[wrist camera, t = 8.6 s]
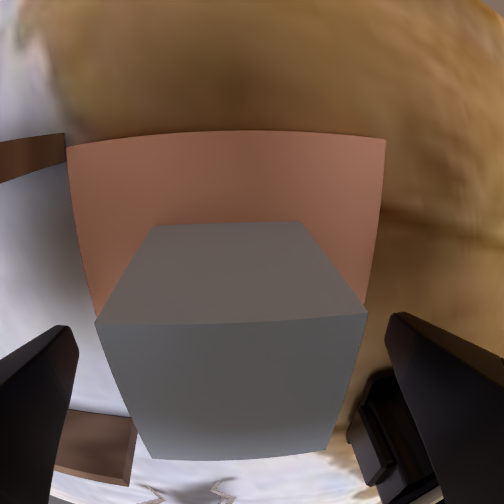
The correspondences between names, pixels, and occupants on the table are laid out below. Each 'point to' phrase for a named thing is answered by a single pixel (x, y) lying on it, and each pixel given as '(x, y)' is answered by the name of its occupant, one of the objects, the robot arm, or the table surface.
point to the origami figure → (231, 499)
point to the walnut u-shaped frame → (76, 422)
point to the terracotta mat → (225, 193)
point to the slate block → (232, 341)
